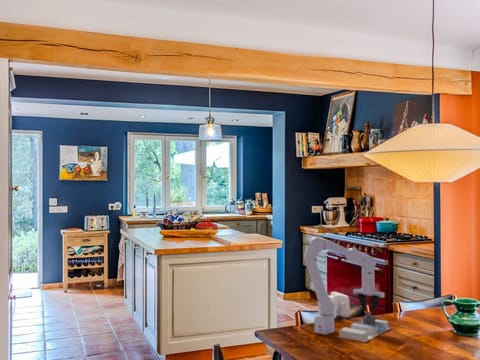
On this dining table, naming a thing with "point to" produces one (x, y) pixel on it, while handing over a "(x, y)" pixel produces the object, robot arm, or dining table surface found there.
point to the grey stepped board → (364, 330)
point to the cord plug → (369, 319)
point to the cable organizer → (340, 304)
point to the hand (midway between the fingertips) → (369, 311)
